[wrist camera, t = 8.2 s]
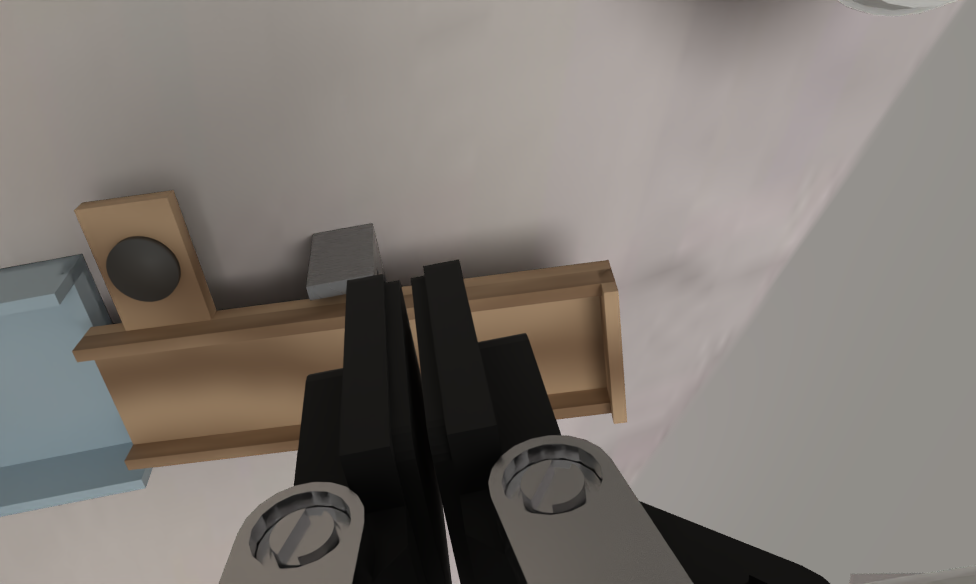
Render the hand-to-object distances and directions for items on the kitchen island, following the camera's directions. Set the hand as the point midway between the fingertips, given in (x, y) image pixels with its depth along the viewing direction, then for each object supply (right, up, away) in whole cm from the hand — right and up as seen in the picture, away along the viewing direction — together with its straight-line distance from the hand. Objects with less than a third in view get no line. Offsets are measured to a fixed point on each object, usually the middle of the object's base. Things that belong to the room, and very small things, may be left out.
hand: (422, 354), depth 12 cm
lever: (-5, +1, +26) cm, 26 cm away
